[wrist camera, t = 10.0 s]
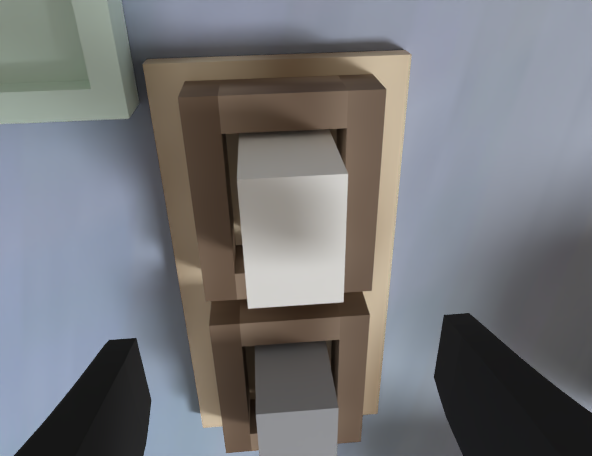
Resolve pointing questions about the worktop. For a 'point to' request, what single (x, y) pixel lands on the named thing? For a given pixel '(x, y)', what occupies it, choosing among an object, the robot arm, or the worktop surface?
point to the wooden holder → (227, 227)
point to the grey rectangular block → (295, 400)
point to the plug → (292, 217)
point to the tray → (65, 61)
